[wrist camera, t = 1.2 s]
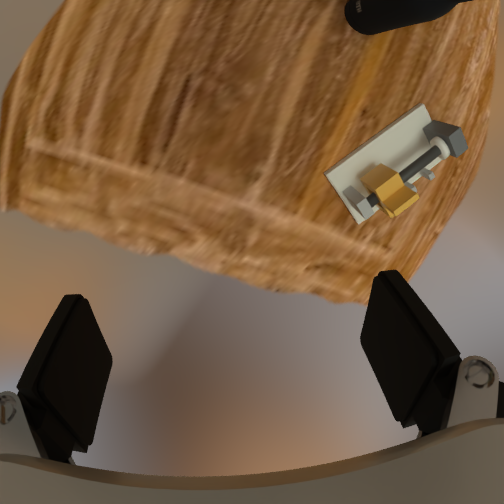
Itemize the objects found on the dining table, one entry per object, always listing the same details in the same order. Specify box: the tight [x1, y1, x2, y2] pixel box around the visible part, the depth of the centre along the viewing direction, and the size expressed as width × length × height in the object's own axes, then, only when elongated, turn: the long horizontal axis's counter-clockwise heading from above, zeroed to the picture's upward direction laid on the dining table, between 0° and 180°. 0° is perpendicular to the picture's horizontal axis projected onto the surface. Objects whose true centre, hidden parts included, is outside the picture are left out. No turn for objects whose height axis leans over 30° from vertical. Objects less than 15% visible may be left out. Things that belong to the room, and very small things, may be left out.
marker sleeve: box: [360, 163, 419, 218], centre depth 38 cm, size 4×5×8 cm
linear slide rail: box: [324, 103, 468, 224], centre depth 40 cm, size 20×10×8 cm, turn 128°
